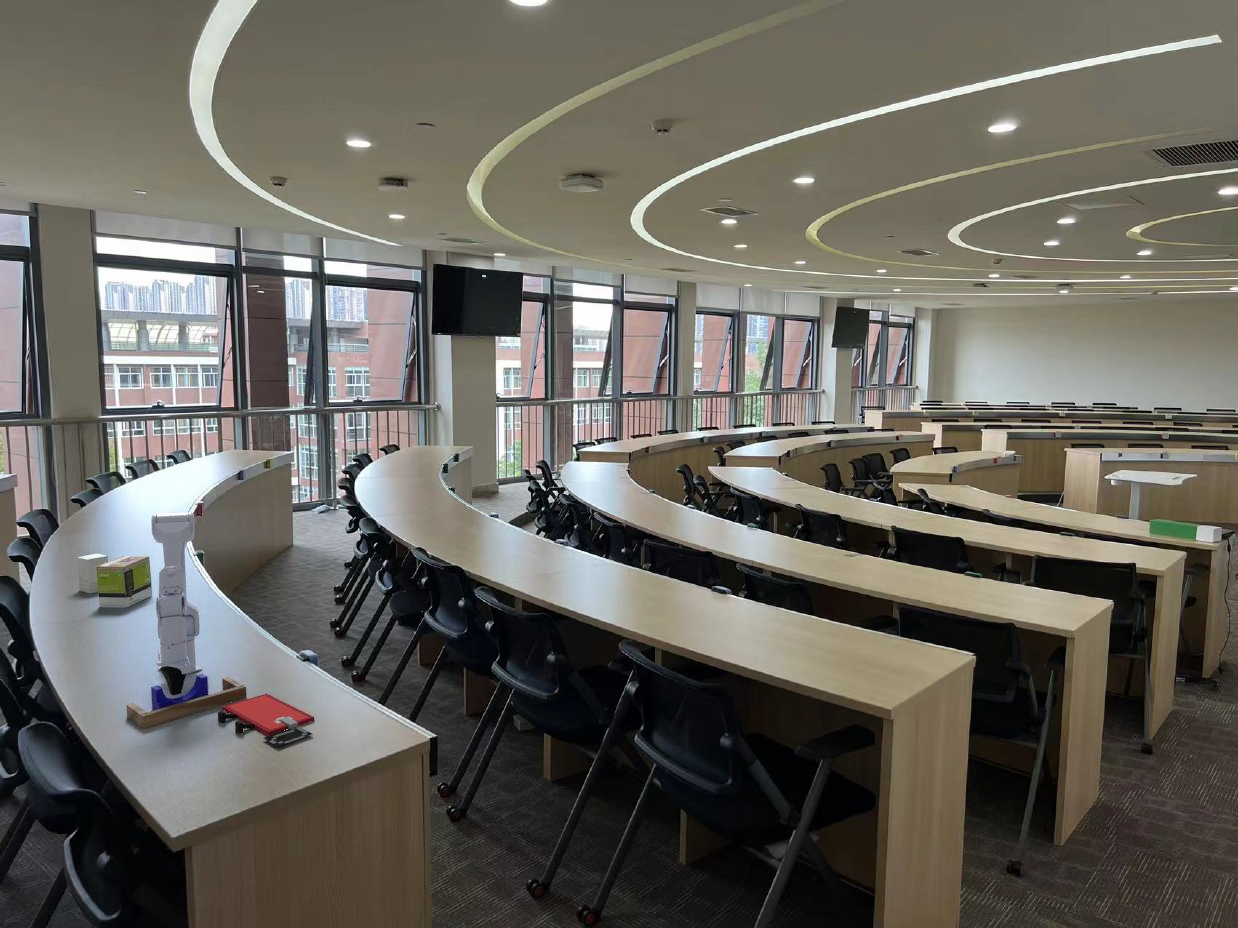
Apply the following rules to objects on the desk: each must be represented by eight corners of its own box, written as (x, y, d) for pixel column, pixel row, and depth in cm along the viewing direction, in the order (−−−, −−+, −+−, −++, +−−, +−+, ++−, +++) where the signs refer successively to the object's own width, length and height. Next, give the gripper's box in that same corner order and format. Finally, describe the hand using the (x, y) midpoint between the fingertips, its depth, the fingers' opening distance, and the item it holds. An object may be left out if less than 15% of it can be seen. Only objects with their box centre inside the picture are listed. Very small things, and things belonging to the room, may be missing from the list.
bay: (127, 716, 197) (126, 704, 197) (228, 687, 215) (228, 676, 215) (143, 728, 191) (142, 716, 190) (246, 697, 209) (246, 686, 209)
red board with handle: (269, 753, 180) (331, 731, 192) (269, 740, 180) (331, 719, 192) (206, 716, 199) (266, 698, 211) (205, 705, 199) (266, 688, 210)
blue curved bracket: (159, 715, 198) (158, 691, 197) (152, 710, 201) (151, 686, 200) (211, 701, 207) (210, 677, 207) (203, 696, 210) (202, 673, 209)
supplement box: (110, 589, 305) (108, 555, 303) (89, 594, 298) (86, 559, 297) (100, 586, 308) (98, 553, 307) (78, 590, 302) (76, 556, 301)
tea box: (125, 595, 297) (123, 555, 295) (153, 596, 297) (151, 555, 295) (97, 607, 282) (95, 565, 281) (126, 608, 282) (124, 565, 280)
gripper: (144, 638, 207) (147, 690, 209) (168, 652, 198) (171, 706, 200) (173, 632, 213) (176, 682, 214) (199, 645, 204) (201, 698, 205)
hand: (176, 694), depth 207 cm, fingers closed
